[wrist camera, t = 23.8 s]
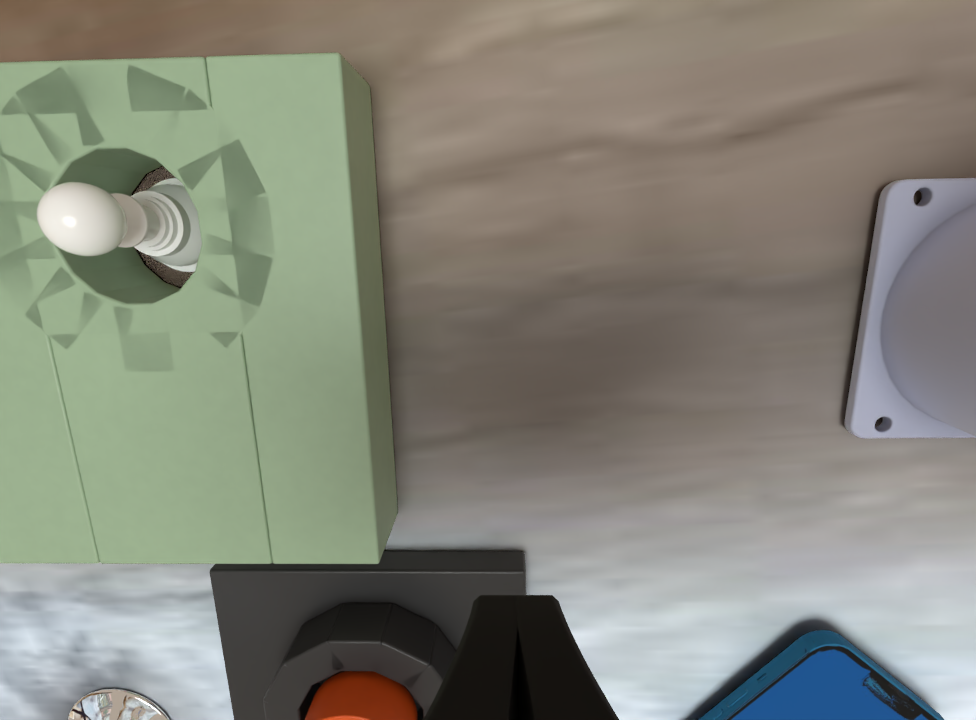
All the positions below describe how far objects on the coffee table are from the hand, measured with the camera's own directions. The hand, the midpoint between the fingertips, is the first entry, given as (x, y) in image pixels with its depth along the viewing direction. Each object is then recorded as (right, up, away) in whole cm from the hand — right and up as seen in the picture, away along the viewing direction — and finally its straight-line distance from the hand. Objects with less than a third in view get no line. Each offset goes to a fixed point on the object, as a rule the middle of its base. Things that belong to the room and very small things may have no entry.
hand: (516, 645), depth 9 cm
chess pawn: (-10, +9, +8) cm, 16 cm away
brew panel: (-5, -6, +11) cm, 14 cm away
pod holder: (-10, +6, +8) cm, 14 cm away
